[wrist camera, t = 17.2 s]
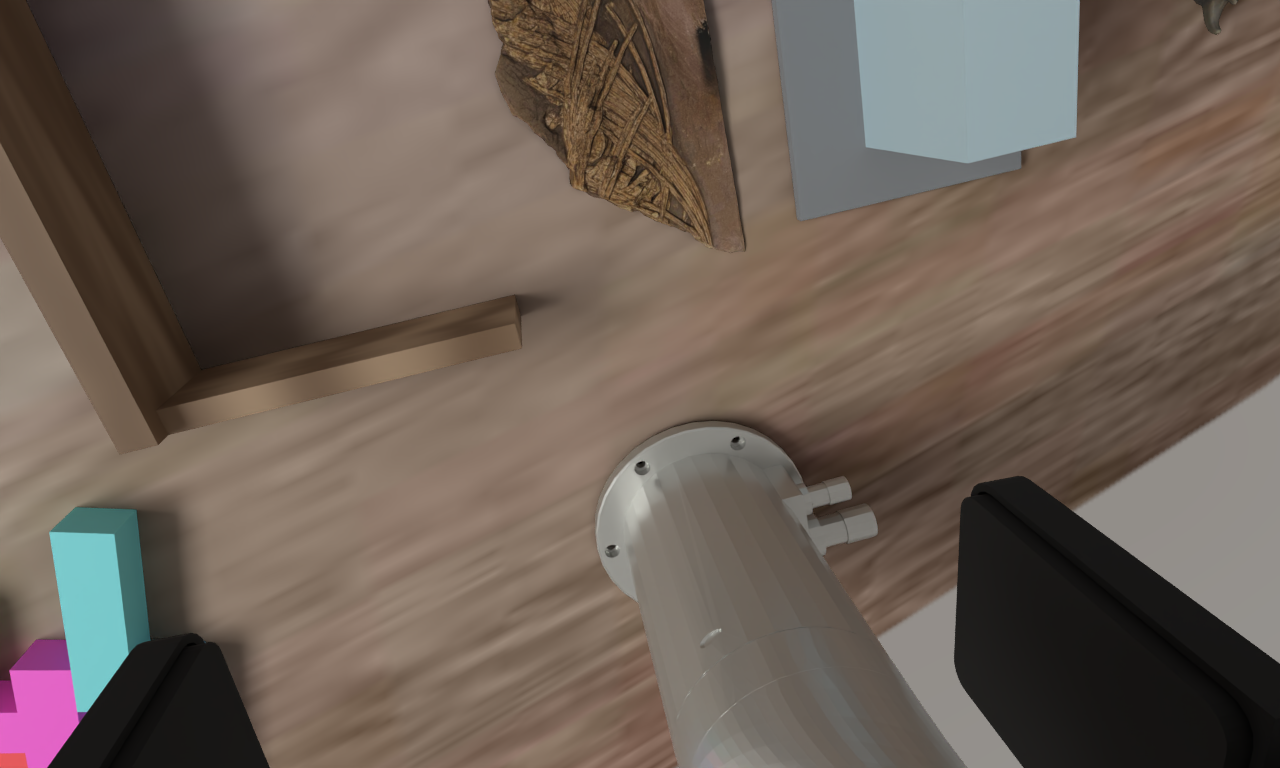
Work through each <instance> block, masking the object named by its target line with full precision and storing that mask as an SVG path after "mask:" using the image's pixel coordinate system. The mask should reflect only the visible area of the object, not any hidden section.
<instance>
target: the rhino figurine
mask: <svg viewBox="0 0 1280 768" xmlns="http://www.w3.org/2000/svg"><path fill="white" fill-rule="evenodd" d="M1194 1H1195V2H1196V3H1197V4H1199V5H1202V8H1203V16H1204V21H1205V25H1206V27H1207V29H1208V31H1209V32H1211V33H1213V34H1216V35H1217V34H1219V33H1220V32H1221V28H1220V27H1219V18H1220V15H1221V13H1222V10H1223V8H1224V6H1225V5H1226V4H1227V3H1228V2H1230V3H1231V4H1233V5H1235V4H1236V3H1237V2H1238V0H1194Z"/></svg>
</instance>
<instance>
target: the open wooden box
mask: <svg viewBox="0 0 1280 768" xmlns="http://www.w3.org/2000/svg"><path fill="white" fill-rule="evenodd" d="M0 238H1V239H2V241H3V243H4V245H5V247H6V249H7V250H8V252H9V254H10V256H11V258H12V259H13V261H14V263H15V265H16V267H17V269H18V270H19V272H20V274H21V276H22V278H23V279H24V281H25V283H26V285H27V287H28V289H29V290H30V292H31V294H32V296H33V298H34V299H35V301H36V303H37V305H38V307H39V309H40V310H41V312H42V314H43V316H44V318H45V320H46V321H47V323H48V325H49V327H50V329H51V330H52V332H53V334H54V336H55V338H56V340H57V341H58V343H59V345H60V347H61V349H62V350H63V352H64V354H65V356H66V358H67V360H68V361H69V363H70V365H71V367H72V369H73V371H74V372H75V374H76V376H77V378H78V380H79V381H80V383H81V385H82V387H83V389H84V391H85V392H86V394H87V396H88V398H89V400H90V401H91V403H92V405H93V407H94V409H95V411H96V412H97V414H98V416H99V418H100V420H101V422H102V423H103V425H104V427H105V429H106V431H107V432H108V434H109V436H110V438H111V440H112V442H113V443H114V445H115V447H116V449H117V451H118V452H119V454H124V453H128V452H132V451H136V450H140V449H144V448H148V447H152V446H156V445H159V444H160V443H161V442H162V441H163V440H164V439H165V438H166V437H167V436H168V435H170V434H174V433H178V432H182V431H186V430H190V429H195V428H199V427H203V426H207V425H211V424H215V423H219V422H223V421H227V420H231V419H235V418H239V417H243V416H248V415H252V414H256V413H260V412H264V411H268V410H272V409H276V408H280V407H284V406H288V405H292V404H297V403H301V402H305V401H309V400H313V399H317V398H321V397H325V396H329V395H333V394H337V393H341V392H345V391H350V390H354V389H358V388H362V387H366V386H370V385H374V384H378V383H382V382H386V381H390V380H394V379H399V378H403V377H407V376H411V375H415V374H419V373H423V372H427V371H431V370H435V369H439V368H443V367H447V366H452V365H456V364H460V363H464V362H468V361H472V360H476V359H480V358H484V357H488V356H492V355H496V354H501V353H505V352H509V351H513V350H517V349H521V348H522V333H521V315H520V312H519V308H518V304H517V301H516V297H515V295H512V296H507V297H503V298H499V299H495V300H491V301H487V302H482V303H478V304H474V305H470V306H466V307H462V308H457V309H453V310H449V311H445V312H441V313H437V314H432V315H428V316H424V317H420V318H416V319H412V320H407V321H403V322H399V323H395V324H391V325H387V326H382V327H378V328H374V329H370V330H366V331H362V332H357V333H353V334H349V335H345V336H341V337H337V338H332V339H328V340H324V341H320V342H316V343H312V344H307V345H303V346H299V347H295V348H291V349H287V350H282V351H278V352H274V353H270V354H266V355H262V356H257V357H253V358H249V359H245V360H241V361H237V362H232V363H228V364H224V365H220V366H216V367H212V368H207V369H203V370H201V369H200V366H199V364H198V362H197V360H196V358H195V356H194V354H193V352H192V350H191V347H190V345H189V343H188V341H187V339H186V337H185V335H184V333H183V331H182V328H181V326H180V324H179V322H178V320H177V318H176V316H175V314H174V312H173V310H172V307H171V305H170V303H169V301H168V299H167V297H166V295H165V293H164V291H163V288H162V286H161V284H160V282H159V280H158V278H157V276H156V274H155V272H154V269H153V267H152V265H151V263H150V261H149V259H148V257H147V255H146V253H145V251H144V248H143V246H142V244H141V242H140V240H139V238H138V236H137V234H136V232H135V229H134V227H133V225H132V223H131V221H130V219H129V217H128V215H127V213H126V210H125V208H124V206H123V204H122V202H121V200H120V198H119V196H118V194H117V191H116V189H115V187H114V185H113V183H112V181H111V179H110V177H109V175H108V173H107V170H106V168H105V166H104V164H103V162H102V160H101V158H100V156H99V154H98V151H97V149H96V147H95V145H94V143H93V141H92V139H91V137H90V135H89V132H88V130H87V128H86V126H85V124H84V122H83V120H82V118H81V116H80V114H79V111H78V109H77V107H76V105H75V103H74V101H73V99H72V97H71V95H70V92H69V90H68V88H67V86H66V84H65V82H64V80H63V78H62V76H61V73H60V71H59V69H58V67H57V65H56V63H55V61H54V59H53V57H52V55H51V52H50V50H49V48H48V46H47V44H46V42H45V40H44V38H43V36H42V33H41V31H40V29H39V27H38V25H37V23H36V21H35V19H34V17H33V14H32V12H31V10H30V8H29V6H28V4H27V2H26V0H0Z"/></svg>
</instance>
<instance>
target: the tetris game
mask: <svg viewBox="0 0 1280 768" xmlns="http://www.w3.org/2000/svg"><path fill="white" fill-rule="evenodd" d="M49 533H50V539H51V545H52V552H53V558H54V565H55V571H56V578H57V584H58V591H59V597H60V604H61V610H62V617H63V623H64V629H65V636H66V640H35V642H34V643H33V644H32V645H31V646H30V647H29V649H28V650H27V651H26V652H25V653H24V654H23V655H22V657H21V658H20V659H19V660H18V661H17V662H16V663H15V665H14V666H13V667H12V668H11V669H10V670H9V671H10V676H11V681H0V768H47V767H48V766H49V764H50V763H51V762H52V760H53V759H54V757H55V756H56V755H57V753H58V752H59V750H60V749H61V748H62V746H63V745H64V743H65V742H66V741H67V739H68V738H69V736H70V735H71V734H72V732H73V731H74V730H75V728H76V727H77V725H78V724H79V723H80V721H81V720H82V718H83V717H84V716H85V714H86V713H87V711H88V710H89V709H90V707H91V706H92V705H93V703H94V702H95V700H96V699H97V698H98V696H99V695H100V693H101V692H102V691H103V689H104V688H105V686H106V685H107V684H108V682H109V681H110V679H111V678H112V677H113V675H114V674H115V673H116V671H117V670H118V668H119V667H120V666H121V664H122V663H123V661H124V660H125V659H126V657H127V656H128V654H129V653H130V652H131V650H132V649H133V648H134V647H135V646H136V645H138V644H140V643H143V642H147V641H152V640H150V632H149V623H148V613H147V604H146V594H145V585H144V576H143V566H142V557H141V548H140V538H139V529H138V520H137V510H135V509H109V508H83V507H75V508H74V509H73V510H72V511H71V512H70V513H69V514H68V515H67V516H66V517H65V518H64V519H63V520H62V521H61V522H59V523H58V524H57V525H56V526H55V527H54V528H53V529H52V530H51V531H50V532H49ZM204 642H205V641H204Z"/></svg>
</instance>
